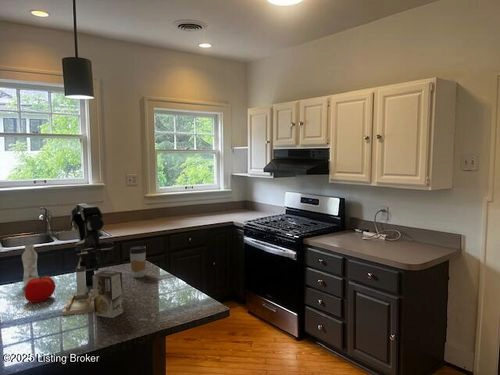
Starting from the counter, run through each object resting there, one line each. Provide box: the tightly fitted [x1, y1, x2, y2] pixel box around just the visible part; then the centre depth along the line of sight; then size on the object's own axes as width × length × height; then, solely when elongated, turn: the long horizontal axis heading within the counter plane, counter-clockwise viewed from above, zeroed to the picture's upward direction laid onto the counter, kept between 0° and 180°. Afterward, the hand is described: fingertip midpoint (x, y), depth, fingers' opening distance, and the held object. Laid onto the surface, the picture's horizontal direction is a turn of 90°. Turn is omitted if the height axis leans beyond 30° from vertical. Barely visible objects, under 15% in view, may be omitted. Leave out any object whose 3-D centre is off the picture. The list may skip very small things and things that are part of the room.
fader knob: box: [74, 266, 90, 299], centre depth 155 cm, size 4×5×13 cm
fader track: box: [61, 289, 94, 316], centre depth 152 cm, size 19×11×3 cm, turn 18°
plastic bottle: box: [21, 243, 39, 287], centre depth 176 cm, size 6×7×20 cm
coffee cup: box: [129, 245, 147, 279], centre depth 190 cm, size 8×8×15 cm
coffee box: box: [92, 270, 124, 319], centre depth 141 cm, size 9×6×16 cm
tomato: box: [24, 275, 56, 303], centre depth 157 cm, size 11×13×10 cm
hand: (95, 267), depth 165 cm, fingers open, 9 cm apart
